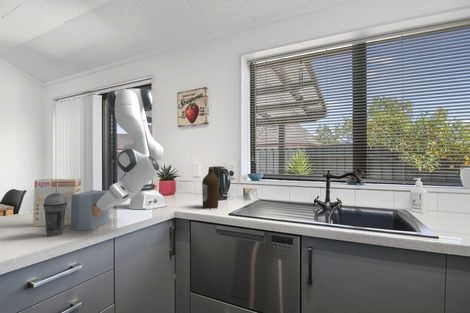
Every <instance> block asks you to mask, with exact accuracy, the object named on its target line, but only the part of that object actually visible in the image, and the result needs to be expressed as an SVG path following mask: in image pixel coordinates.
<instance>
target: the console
mask: <svg viewBox="0 0 470 313" xmlns="http://www.w3.org/2000/svg"><path fill="white" fill-rule="evenodd" d="M107 191H108V190H94V189H93V190H88V191H83V192H81V193H78V194H73V195H72V203H71V225H70V230H71V231H77V230H79V231H80V230H81V231H87V230H88V231H91V230H93V229H95V228H97V227H99V226H101V225H103V224H105V223H107V222H109V221H110V211H108V212H104V213H103V214H101V215H93V205H95V204H96V203H97V202H98V200H99V199H100V198H101V197H102V196H103V195H104V194H105V193H106V192H107Z"/></svg>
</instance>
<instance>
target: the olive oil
mask: <svg viewBox="0 0 470 313" xmlns="http://www.w3.org/2000/svg"><path fill="white" fill-rule="evenodd" d="M214 169H215V166H214V167H213V166H208V170H207V171H208V173H207V174H206V175H205V176H204V177H203V179H202V181H201V188H202V189H201V190H202V192H201V193H202V209H205V208H209V209H208V210H211V209H210V208H216V209H218V208H219V198H220V197H219V196H220V195H219V194H220V178H218V176H217V175H216V174H215V170H214ZM217 207H218V208H217Z"/></svg>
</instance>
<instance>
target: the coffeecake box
mask: <svg viewBox="0 0 470 313" xmlns="http://www.w3.org/2000/svg"><path fill="white" fill-rule="evenodd" d="M57 181H58V191H57V193H61V194H63V195H64V196H65V197H66V199H67V207H66V210H65V217H64V224H63V226H71V203H72V195H73V194H78V193H82V178H52V179H51V178H49V179H48V178H46V179H45V178H43V179H42V178H41V179H36V180H34V189H33V190H34V193H33V194H34V196H33V220H32V223H33V224H32V227H33V228H37V227H46V221H45V210H44V205H43V204H44V201H45V199H46V197H47V196H49V195H50V194H53V193H56V182H57Z"/></svg>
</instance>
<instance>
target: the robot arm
mask: <svg viewBox="0 0 470 313" xmlns="http://www.w3.org/2000/svg"><path fill="white" fill-rule="evenodd" d="M106 104H107V105H108V107H109V109H110V110H112V111H114V117H115V120H116V123H117V125H118V126H119V127H120V128H121V129H122V130H123V131H124V132H126V133H127V134H128V136H129V137H130V138H131V139H132V141H133V142H131V143H130V142H129V143H126V144H124V146H123V147H122V150H121V151H120V153H119V154H118V155H117V158H116V165H117V166H118V167H119V169H120V170H122V172H124V173H125V175H124V176H123V177H122V178H121V179H119V180H118V181H116V182H115V183H113V184H111V185H110V187H109V189H108V190H106V191H107V192H106V193H105V194H104V195H103V196H102V197H101V198H100V199H99V200H98V202H97V203H96V206H97V207H98V208H99V209H100V211H101V212H102V213H104V212H107V211H108V210H109V209H110V208H112V209H113V207H115V206H118V205H121V204H122V203H126V202H127V201H128V200H129V199H130V200H129V203H128V204H129V205H128V209H130V210H131V209H132V210H147V211H148V210H154V209H159V208H164V207H168V206H169V204H168V203H167V202H165V198H164V195H163V194H162V193H160V192H159V191H157V190H156V189H155V188H158V184H156V183H155V184H154V183H153V179H154V178H155V177H156V175H158V172H159V171H160V164H159V163H158V161H159V160H161V159H163V156H164V154H165V150H164V147H163V145H161V144H160V143H159V142H158V141H156V140H155V139H154V138H153V136H152V133H151V131H150V128H149V124H148V120H147V115H146V112H145V111H147V109H149V108H150V107H152V105H153V96H152V94H151V92H150V90H149V89H147V88H143V87H142V88H128V89H127V88H123V89H119V90H115V89H114V90H111V91H109V92H108V93H107V94H106Z"/></svg>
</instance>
